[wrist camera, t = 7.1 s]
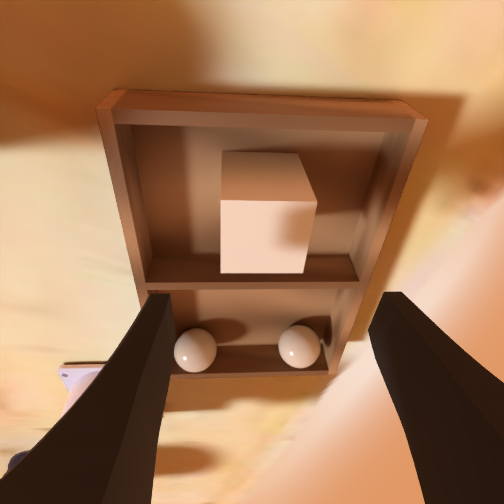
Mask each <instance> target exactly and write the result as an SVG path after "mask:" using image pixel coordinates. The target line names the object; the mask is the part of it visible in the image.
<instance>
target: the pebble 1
mask: <svg viewBox="0 0 504 504" xmlns="http://www.w3.org/2000/svg"><path fill="white" fill-rule="evenodd" d="M216 353H217V345H216V342H215V339H214V338H213V336H212V335H211V334H210V333H209V332H207V331H206V330H204V329H200V328H192V329H189V330H186V331H185V332H183V333H182V334H181V335H180V336H179V337H178V339H177V340H176V343H175V349H174V357H175V360H176V362H177V364H178V365H179V366H180V367H181V368H182V369H184V370H186V371H188V372H200V371H203V370H205V369H207V368H208V367H209V366H210V365H211V364H212V363H213V361H214V359H215V357H216Z"/></svg>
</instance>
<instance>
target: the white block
mask: <svg viewBox="0 0 504 504" xmlns="http://www.w3.org/2000/svg"><path fill="white" fill-rule="evenodd" d="M316 207H317V200H316V197H315V195H314V192H313V190H312V187H311V185H310V182H309V180H308V177H307V175H306V173H305V170H304V168H303V165H302V163H301V160H300V158H299V155H298V153H271V152H239V151H222V158H221V273H303V270H304V266H305V261H306V256H307V251H308V246H309V241H310V236H311V231H312V226H313V221H314V217H315V212H316Z"/></svg>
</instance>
